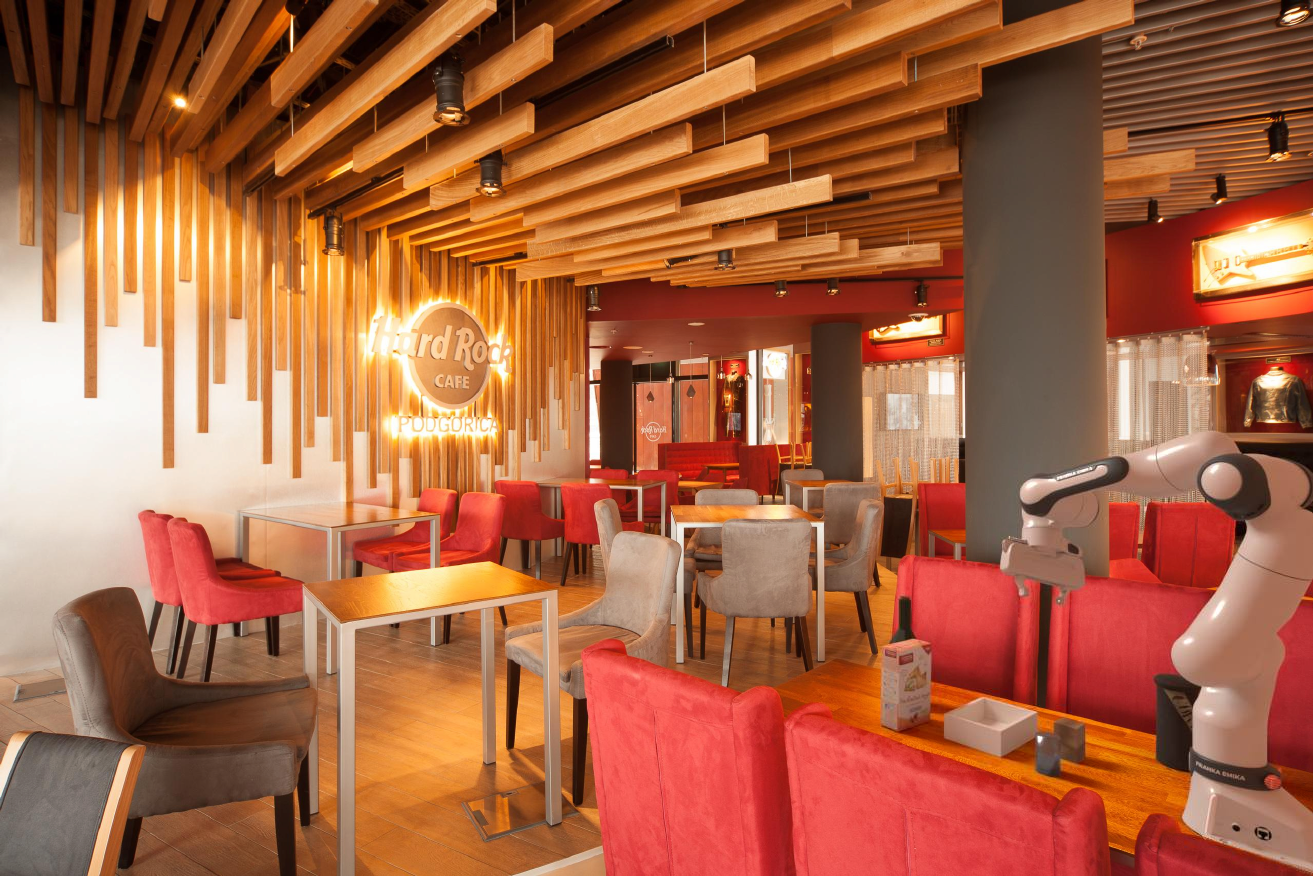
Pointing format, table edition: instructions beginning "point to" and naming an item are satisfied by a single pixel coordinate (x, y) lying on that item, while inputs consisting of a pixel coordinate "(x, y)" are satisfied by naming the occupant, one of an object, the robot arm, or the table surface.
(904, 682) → the cracker box
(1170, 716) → the container
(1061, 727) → the walnut block
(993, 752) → the box
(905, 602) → the wine bottle
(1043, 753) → the charcoal tin
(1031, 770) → the table surface
